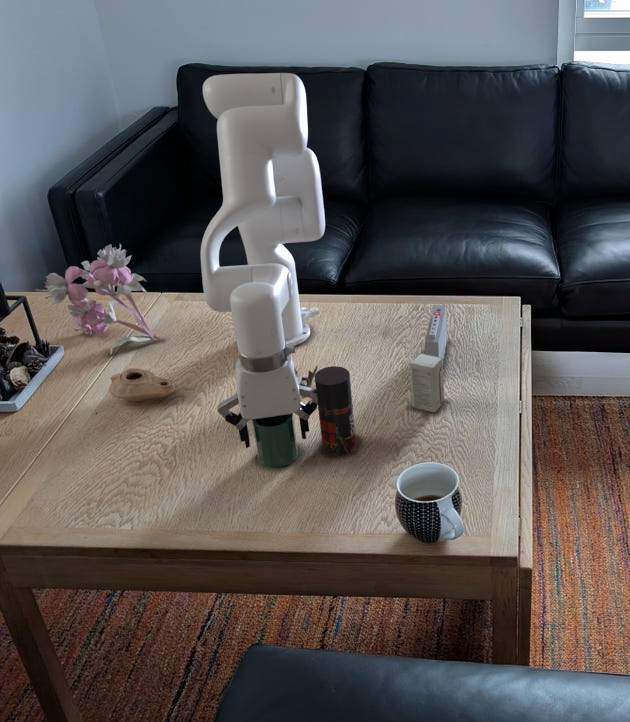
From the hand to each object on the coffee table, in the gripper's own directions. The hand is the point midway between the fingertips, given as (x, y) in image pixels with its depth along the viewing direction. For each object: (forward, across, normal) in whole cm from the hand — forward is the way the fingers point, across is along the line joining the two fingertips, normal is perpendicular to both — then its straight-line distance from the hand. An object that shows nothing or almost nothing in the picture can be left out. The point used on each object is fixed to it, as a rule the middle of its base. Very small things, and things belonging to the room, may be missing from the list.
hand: (275, 438), depth 145 cm
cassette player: (+4, -34, -24) cm, 42 cm away
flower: (+4, +33, -51) cm, 61 cm away
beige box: (+4, -29, -8) cm, 31 cm away
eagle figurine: (+4, -4, -20) cm, 21 cm away
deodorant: (+4, -11, 0) cm, 11 cm away
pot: (+3, 0, 0) cm, 3 cm away
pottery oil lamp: (+4, +24, -24) cm, 35 cm away
